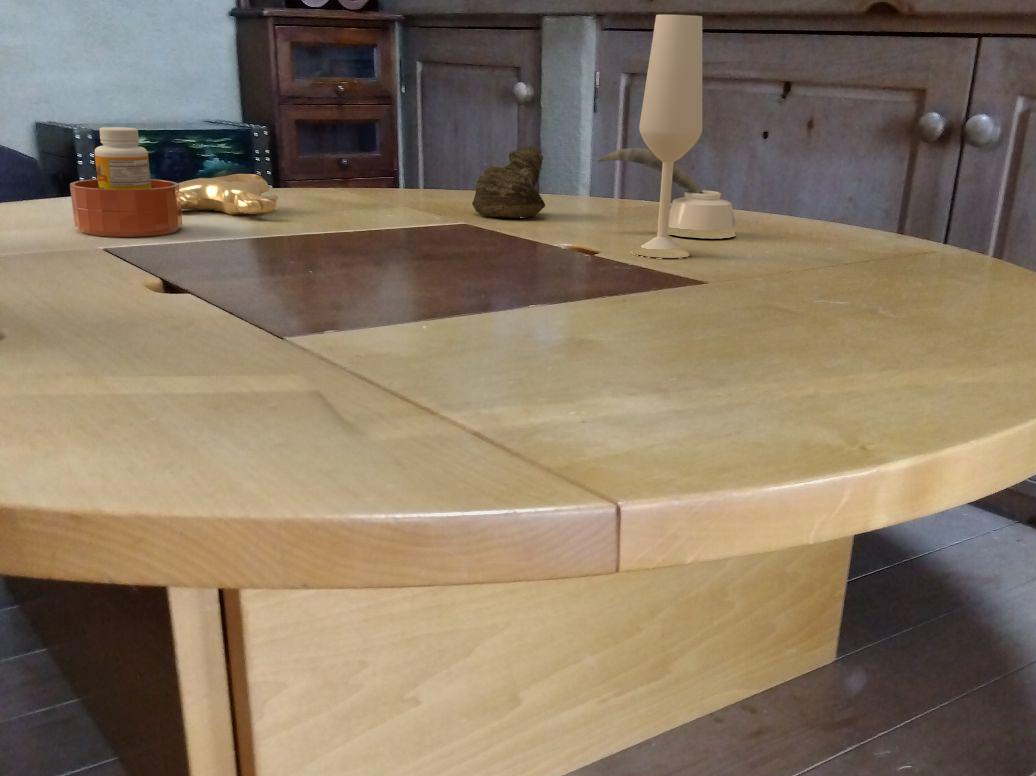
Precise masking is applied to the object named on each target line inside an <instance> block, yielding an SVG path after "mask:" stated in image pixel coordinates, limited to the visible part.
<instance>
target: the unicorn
mask: <svg viewBox="0 0 1036 776" xmlns="http://www.w3.org/2000/svg"><path fill="white" fill-rule="evenodd" d="M177 183H178V184H179V190H180V201H181V210H193V211H194V210H198V211H210V210H214V211H213V212H220V211H221V213H226V214H227V215H248V214H249V215H259V214H266V213H270V212H272V211H274V210H275V209H276V207H277V202H278V200H279V198H278V195H277V194H276V193H275V194H271V195H261V194H264V193H267V192H268V191H270V185H269V184H268V182H267V180H265V179H264V178H263V176H261V175H259V174H251V173H235V174H229V175H223V176H217V177H210V178H209V177H208V178H207V177H199V178H194V179H188V180H185V181H182V182H177Z"/></svg>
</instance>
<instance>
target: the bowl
mask: <svg viewBox="0 0 1036 776" xmlns="http://www.w3.org/2000/svg"><path fill="white" fill-rule="evenodd" d="M150 181H151V189H99V187H98V179H97V178H93V179H84V180H76V181H73V182H70V183H69V189H70V190H69V191H70V197H71V205H72V206H71V207H72V214H73V222H74V227H76V228H78V229H80V232H81V233H83V234H87V235H91V236H96V237H108V238H109V237H110V238H111V237H112V238H115V237H116V238H142V237H143V238H144V237H155V236H163V235H170V234H173V233H176V232H178V231H179V227H181V226H183V214H182V209H181V201H180V190H179V184H178V183H179V182H175V181H172V180H164V179H154V178H153V179H152V178H150Z"/></svg>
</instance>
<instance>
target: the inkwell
mask: <svg viewBox="0 0 1036 776" xmlns="http://www.w3.org/2000/svg"><path fill="white" fill-rule="evenodd" d="M610 161H618V162H619V161H621V162H622V161H627V162H630V163H636V164H641V165H643V166H644V167H647V168H650V169H653V170H656V171H659V172H661V173H662V164H663V162H662V161H661V160H660V159H658V158H657V157H656V156H655V155H654V154H653V152H652V151H651V150H650V149H649V148H643V147H631V148H630V147H629V148H628V147H627V148H621V149H617V150H614V151H611V152H608V153H607V154H604V155H603V156H602V157H601V158H599V159H598V160H597V161H596V163H602V162H603V163H604V162H610ZM673 182H674V183H676V184H678V186H679V187H681V188H683V189H686V190H685V191H683V196H681V197H676V198H673V199H672V200H671V202H670V214H669V227H671V228H679V229H693V230H714V229H726V228H731V227H734V226H735V227H736V221H735V217H734V216H735V215H734V209H733V205H732V203H731V201H729V200H726V199H723V198H721V197H722V193H721V192H720V191H715V190H705V189H702V188H701V186H700V184H699V183H698V182H697V181H696V179H694V178H693V176H692V175H690V174H689V172H687V171H686V169H684V168H683V167H682V166H681V165H680V164H679V163H677V162H676V161H675V162H674V163H673V176H672V183H673Z"/></svg>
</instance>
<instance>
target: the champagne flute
mask: <svg viewBox="0 0 1036 776" xmlns="http://www.w3.org/2000/svg"><path fill="white" fill-rule="evenodd" d="M638 125H639V126H638V128H639V134H640V136H641V138H642V140H643V142H644V143H645V145H646V147H647V149H648V150H651V151H652V152H653V154H654V155H655V156H656V157H657V158H658V159H660V160H661V161H662V162H663V164H662V172H661V178H660V193H659V205H658V206H659V207H658V220H657V231H656V232H657V234H656V236H655V237H653V238H651V239H650V240H648V241H647V242H645V243H643V244H642V245H640V246H641V247H642V248H646V249H672V248H676V247H679V246H680V244H678V243H677V242H675V241H674V240H673V239H671V237H669V235H668V227H669V214H670V206H671V202H672V199H671V198H672V188H673V187H672V186H673V181H672V176H673V163H674V162H675V163H676V162H677V161H678V160H680V159H682V157H684V156H685V155H686V153H688V152H689V151H690V150H691V149H692V148H693V147H694V146H695V145H696V143H697V142H698V141H699V139H700V137H701V136H702V133H703V16H701V15H691V14H656V15H655V21H654V27H653V33H652V39H651V47H650V54H649V60H648V66H647V74H646V79H645V87H644V93H643V99H642V106H641V113H640V121H639V124H638ZM630 253H631V254H632V255H634V256H637V257H639V256H638V255H635V254H633V253H632V251H631V252H630ZM640 257H642V258H644V257H643V256H640ZM647 258H649V259H651V258H650V257H647ZM688 258H689V257H687V258H686V259H688ZM658 259H660V260H663V259H662V258H657V260H658ZM680 259H681V260H682V258H679V259H678V260H680Z"/></svg>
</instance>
